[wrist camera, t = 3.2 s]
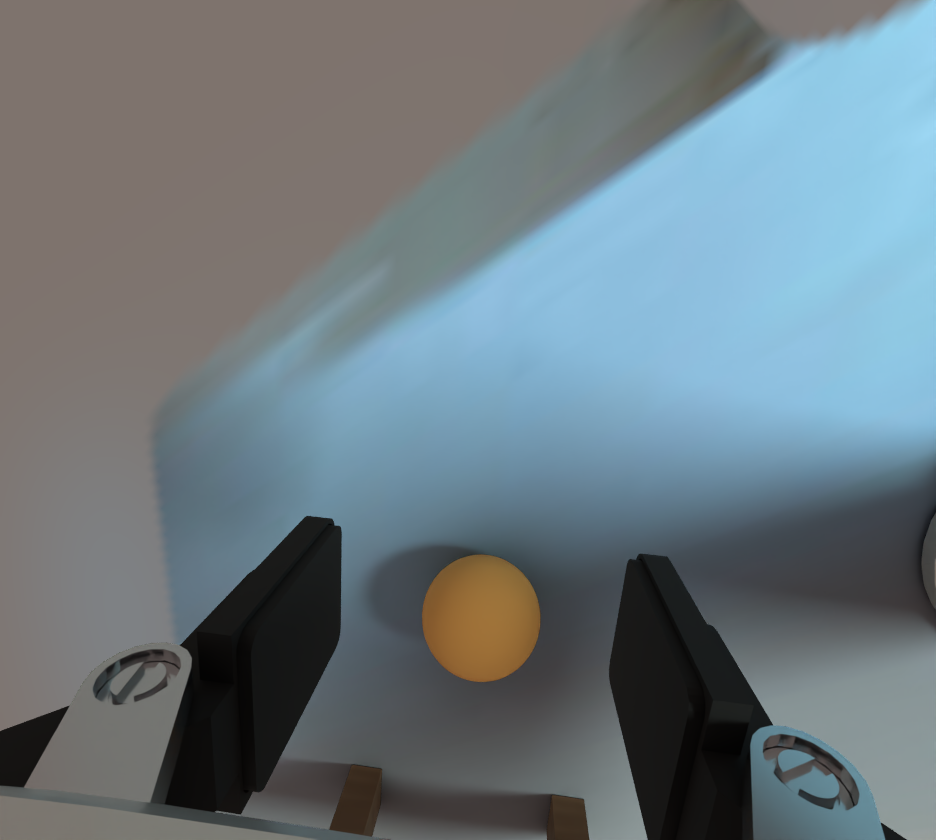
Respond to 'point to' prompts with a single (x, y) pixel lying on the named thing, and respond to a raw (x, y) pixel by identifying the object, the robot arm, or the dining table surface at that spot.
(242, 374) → the dining table surface
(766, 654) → the dining table surface
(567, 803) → the bridge
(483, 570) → the ball
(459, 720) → the dining table surface
